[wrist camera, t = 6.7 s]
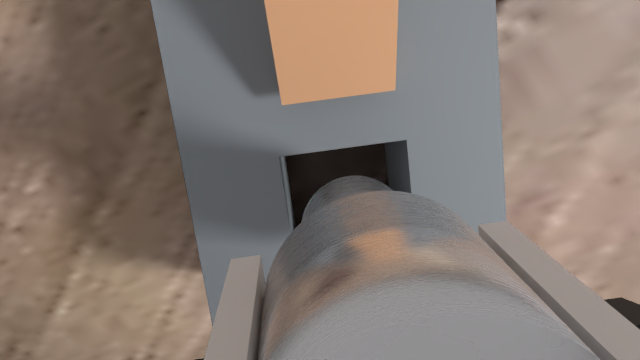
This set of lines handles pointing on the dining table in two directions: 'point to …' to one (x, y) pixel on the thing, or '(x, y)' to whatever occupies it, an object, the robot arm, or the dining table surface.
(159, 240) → the dining table surface
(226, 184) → the slate block
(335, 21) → the bar
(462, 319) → the steel pin
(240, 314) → the robot arm
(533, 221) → the dining table surface
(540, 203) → the dining table surface
